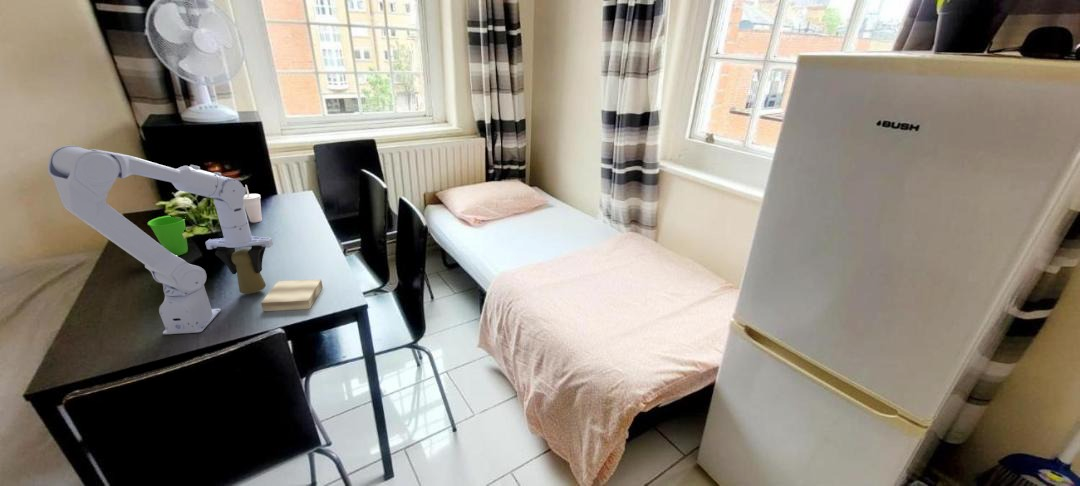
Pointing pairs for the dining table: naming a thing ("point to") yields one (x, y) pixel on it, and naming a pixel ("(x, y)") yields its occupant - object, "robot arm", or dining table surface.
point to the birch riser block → (292, 295)
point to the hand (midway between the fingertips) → (247, 272)
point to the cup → (170, 233)
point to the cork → (247, 273)
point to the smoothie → (253, 206)
